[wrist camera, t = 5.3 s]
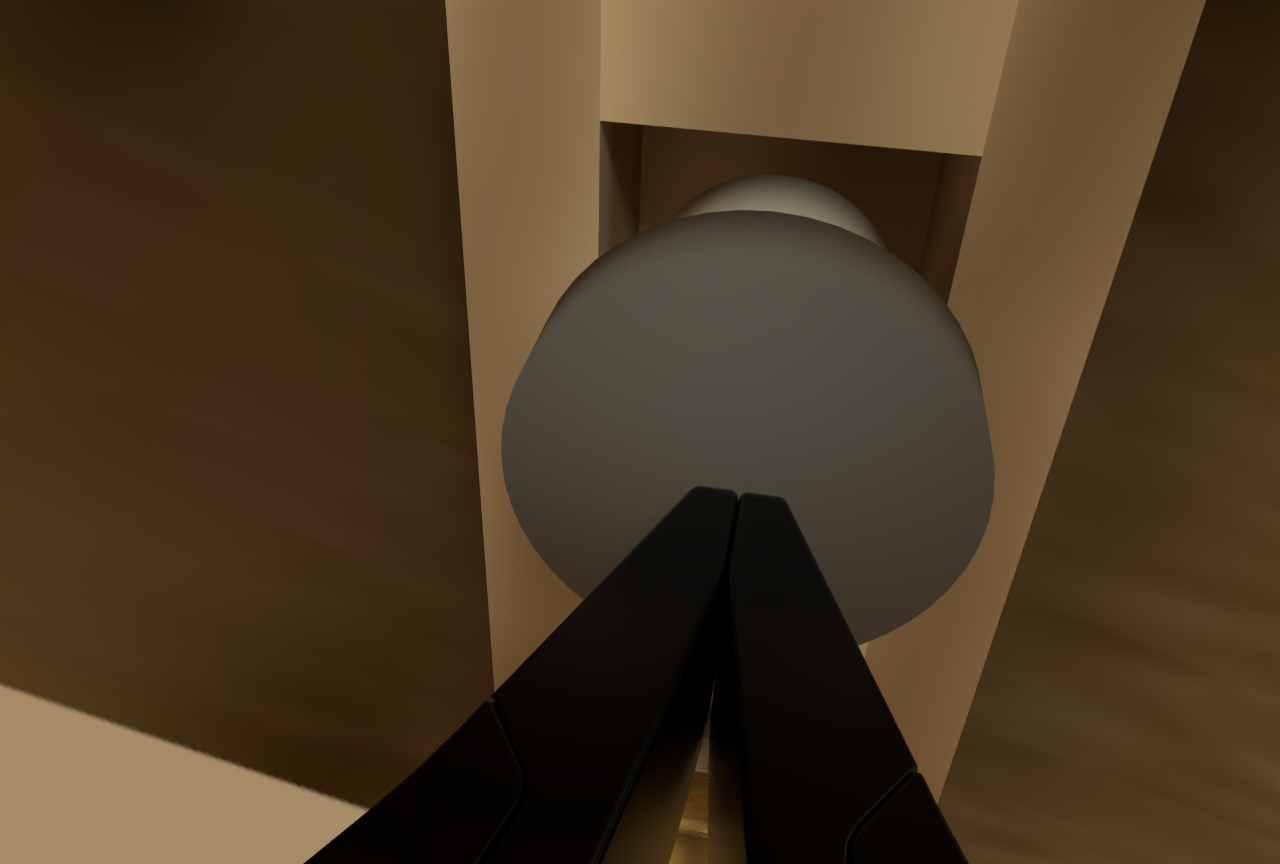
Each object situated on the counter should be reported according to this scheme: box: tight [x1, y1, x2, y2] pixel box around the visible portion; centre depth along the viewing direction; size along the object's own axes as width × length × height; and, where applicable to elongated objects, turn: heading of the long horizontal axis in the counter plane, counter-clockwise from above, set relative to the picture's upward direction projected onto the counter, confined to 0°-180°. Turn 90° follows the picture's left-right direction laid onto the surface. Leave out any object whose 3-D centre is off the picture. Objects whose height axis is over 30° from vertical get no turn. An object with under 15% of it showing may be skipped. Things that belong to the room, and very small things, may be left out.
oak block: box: [445, 0, 1206, 805], centre depth 18 cm, size 8×20×4 cm, turn 178°
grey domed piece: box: [501, 175, 995, 646], centre depth 12 cm, size 5×5×4 cm
